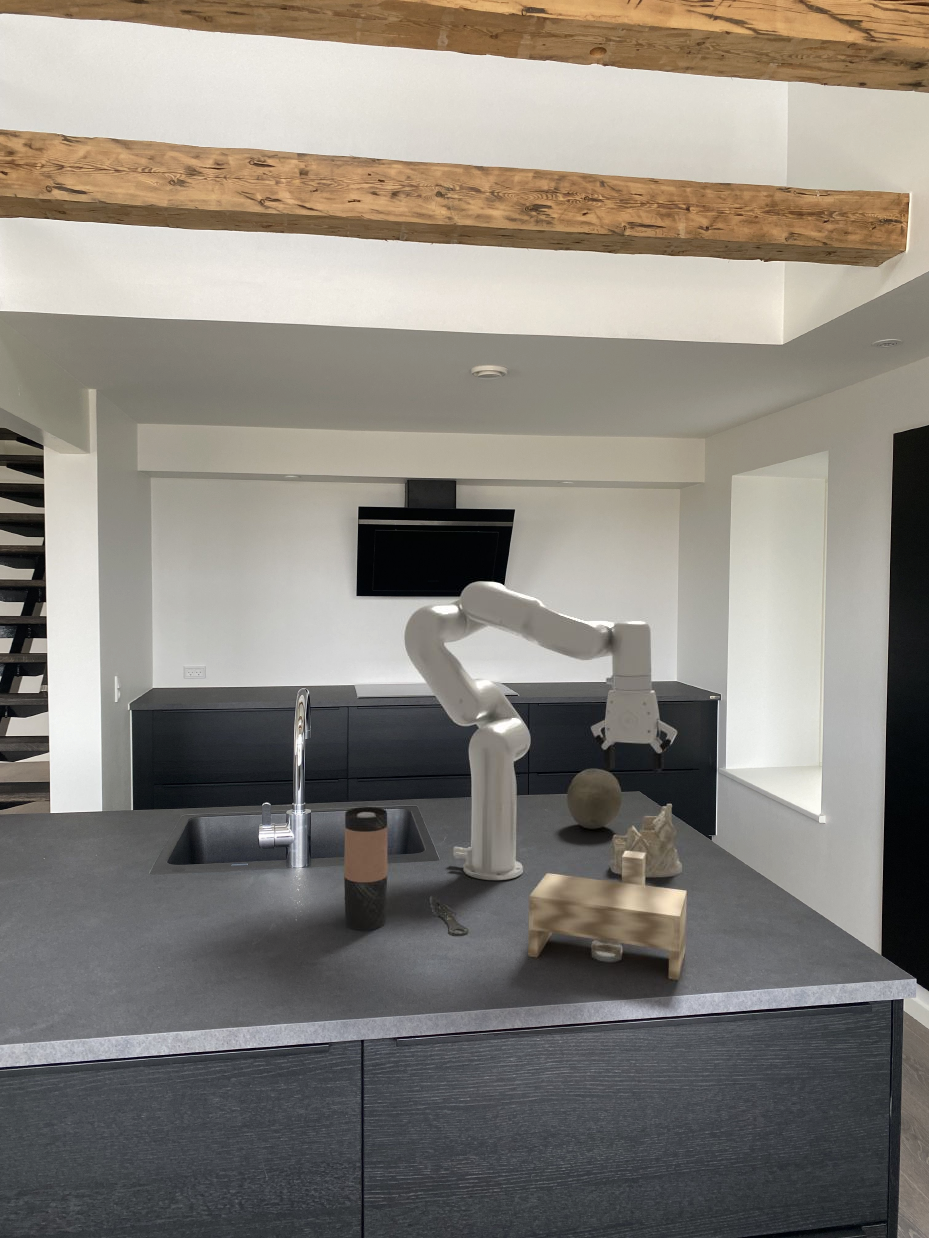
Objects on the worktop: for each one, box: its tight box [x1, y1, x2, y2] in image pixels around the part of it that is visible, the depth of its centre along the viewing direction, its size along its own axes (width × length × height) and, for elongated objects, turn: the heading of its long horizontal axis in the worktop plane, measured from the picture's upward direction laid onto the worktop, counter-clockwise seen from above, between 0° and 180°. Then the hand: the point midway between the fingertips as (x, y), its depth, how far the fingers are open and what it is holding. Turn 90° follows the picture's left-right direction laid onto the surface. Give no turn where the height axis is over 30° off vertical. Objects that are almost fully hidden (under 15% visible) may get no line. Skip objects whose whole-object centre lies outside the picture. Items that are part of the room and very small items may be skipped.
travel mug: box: [343, 806, 388, 931], centre depth 153 cm, size 8×8×20 cm
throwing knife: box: [429, 895, 470, 936], centre depth 158 cm, size 4×20×1 cm, turn 18°
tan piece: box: [621, 851, 646, 886], centre depth 160 cm, size 6×24×8 cm, turn 161°
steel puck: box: [591, 939, 623, 963], centre depth 141 cm, size 5×5×2 cm
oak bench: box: [527, 872, 688, 981], centre depth 142 cm, size 24×12×10 cm, turn 71°
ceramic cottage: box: [608, 803, 683, 879], centre depth 187 cm, size 16×16×15 cm
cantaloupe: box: [566, 768, 623, 830], centre depth 215 cm, size 14×14×15 cm
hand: (633, 770), depth 169 cm, fingers open, 9 cm apart
